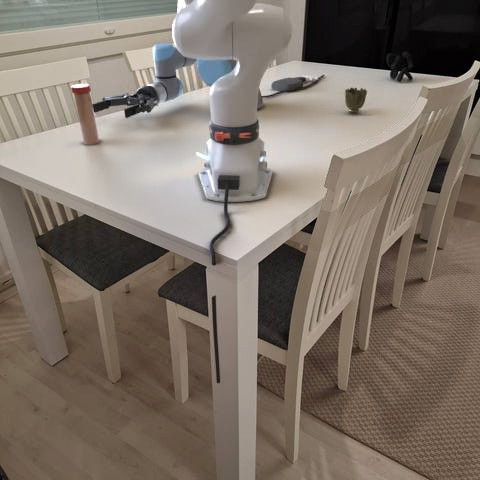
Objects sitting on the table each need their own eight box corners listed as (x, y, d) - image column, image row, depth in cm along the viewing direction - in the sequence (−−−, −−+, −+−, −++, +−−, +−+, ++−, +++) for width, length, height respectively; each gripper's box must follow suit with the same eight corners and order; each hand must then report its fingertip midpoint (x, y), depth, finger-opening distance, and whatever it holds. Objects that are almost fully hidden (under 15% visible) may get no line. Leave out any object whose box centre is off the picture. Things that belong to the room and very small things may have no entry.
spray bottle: (268, 89, 190) (300, 79, 206) (290, 92, 184) (320, 82, 200) (269, 81, 189) (300, 72, 205) (290, 85, 183) (321, 75, 199)
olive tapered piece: (340, 114, 157) (342, 91, 153) (346, 109, 163) (348, 86, 159) (361, 116, 154) (364, 93, 150) (366, 111, 160) (369, 88, 156)
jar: (88, 145, 135) (76, 90, 126) (81, 142, 138) (69, 87, 129) (102, 142, 137) (91, 87, 129) (95, 138, 140) (84, 84, 132)
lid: (76, 94, 126) (75, 88, 126) (69, 91, 130) (67, 85, 129) (93, 91, 129) (92, 85, 128) (85, 88, 133) (84, 82, 132)
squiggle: (400, 92, 202) (376, 71, 205) (417, 76, 202) (392, 56, 205) (405, 81, 191) (380, 59, 194) (423, 64, 191) (397, 42, 194)
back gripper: (180, 110, 156) (141, 127, 141) (125, 102, 167) (83, 117, 151) (178, 88, 152) (137, 103, 137) (122, 81, 163) (79, 94, 147)
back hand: (109, 110), depth 144 cm, fingers open, 13 cm apart
